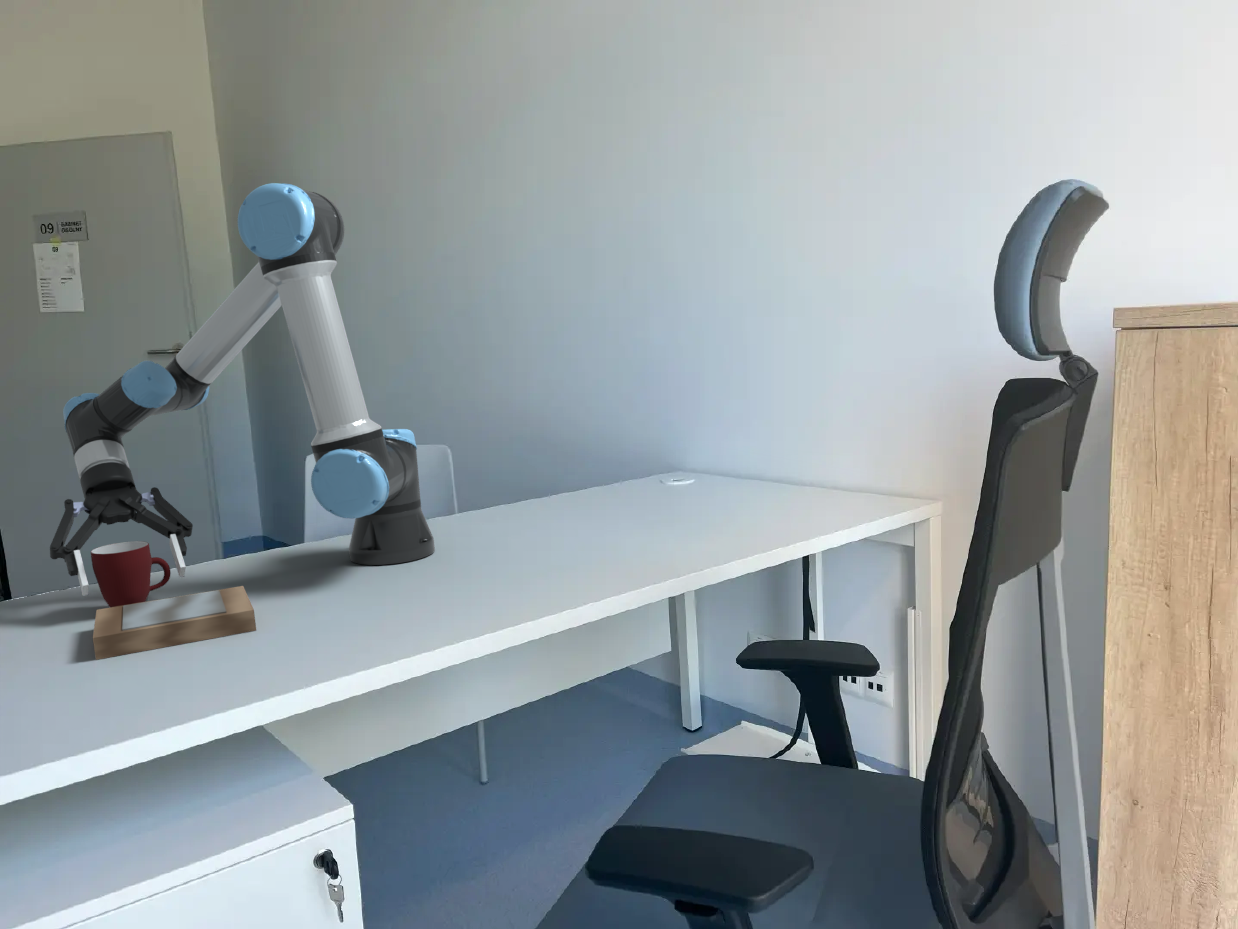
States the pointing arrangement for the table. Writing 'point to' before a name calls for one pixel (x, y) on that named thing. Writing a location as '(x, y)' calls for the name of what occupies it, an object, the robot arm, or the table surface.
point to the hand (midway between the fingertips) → (135, 581)
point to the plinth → (172, 621)
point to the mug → (126, 572)
